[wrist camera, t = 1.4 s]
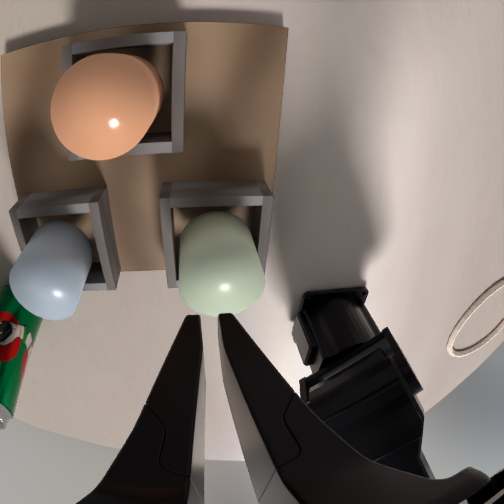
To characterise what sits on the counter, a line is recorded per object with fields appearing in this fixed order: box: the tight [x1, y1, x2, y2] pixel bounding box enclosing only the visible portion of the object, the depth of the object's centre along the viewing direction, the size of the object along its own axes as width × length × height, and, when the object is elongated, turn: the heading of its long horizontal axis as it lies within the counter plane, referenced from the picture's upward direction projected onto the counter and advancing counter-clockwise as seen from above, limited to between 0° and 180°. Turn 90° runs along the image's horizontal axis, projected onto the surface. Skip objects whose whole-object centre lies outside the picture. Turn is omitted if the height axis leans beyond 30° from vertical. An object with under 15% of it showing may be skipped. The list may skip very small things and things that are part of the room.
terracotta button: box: [50, 53, 164, 160], centre depth 12 cm, size 4×4×4 cm
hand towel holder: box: [447, 279, 504, 357], centre depth 37 cm, size 17×4×20 cm
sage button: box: [179, 211, 265, 317], centre depth 18 cm, size 4×4×4 cm
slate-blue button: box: [9, 220, 93, 320], centre depth 16 cm, size 4×4×4 cm
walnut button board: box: [1, 22, 288, 291], centre depth 17 cm, size 18×16×3 cm
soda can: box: [0, 285, 43, 429], centre depth 18 cm, size 5×5×12 cm
